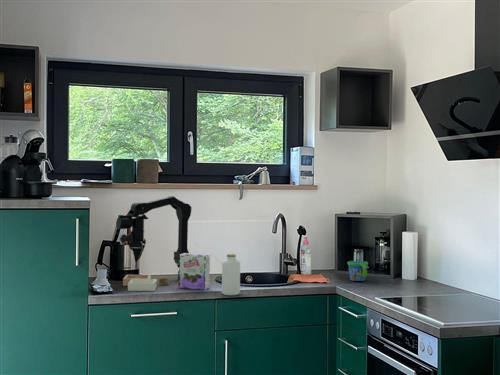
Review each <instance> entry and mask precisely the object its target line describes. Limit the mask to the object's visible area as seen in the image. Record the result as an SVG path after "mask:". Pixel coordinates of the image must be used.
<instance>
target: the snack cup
mask: <svg viewBox="0 0 500 375" xmlns="http://www.w3.org/2000/svg"><path fill="white" fill-rule="evenodd" d="M347 265H348V273H349V279H350V281H351V280H355V281H363V282H365V281H366V277H367V276H368V265H369V262H368V261H365V260H364V261H362V260H349V261H347ZM364 280H365V281H364Z"/></svg>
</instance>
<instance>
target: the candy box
mask: <svg viewBox="0 0 500 375" xmlns="http://www.w3.org/2000/svg"><path fill="white" fill-rule="evenodd" d="M210 261H211V254H205V253H204V254H202V253H190V252H189V253H182V254H180V258H179V268H178V271H179V280H178V288H179V289H185V290H186V289H188V290H196V291H197V290H199V291H207V290H209V289H210V275H211V274H210V269H211V268H210V264H211V263H210Z"/></svg>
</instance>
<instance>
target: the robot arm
mask: <svg viewBox="0 0 500 375" xmlns="http://www.w3.org/2000/svg"><path fill="white" fill-rule="evenodd" d="M169 205H170V207H171V208H173V209H174V210H175V213H176V214H175V215H176V217H177V220H178V229H177V232H178V233H177V234H178V236H177V237H178V238H177V250H176V251H173V261H174V263H175V264H176V266H177V268H178V269H179V258H180V254H182V253H190V252H189V249H188V238H189V237H188V236H189V235H188V233H189V231H188V230H189V220H190V217H191V214H192V210H193V209H192V206H191V205H190V204H189V203H185V201H184V202H183V200H180V199H179V198H177V197H175V196H174V195H173V196H172V195H171V196H170V195H169V196H167V197H162V198H159V199H155V200H151V201H147V202H146V201H145V202H134V203H132V204H131V206H130V209H129V210H128V212H127V214H124V215H123V214H118V215H117V216H118V217H117V219H116V221H115V224H116V228H117V230H130V229H131V231H130V233H128V234H126V233H124V234H121V236H120V237H119V241H120V243H121V244H125V243H127V242H129V243H128V248H129V249H130V250H131V252H133V253H132V254H133V258H134V262H138V261H139V260H140V259H141V257H142V254H143V252H144V249H145V247H146V244H147V240H146V239H145V220H149V217H148V216H147V215H146V214H147V213H148V212H150V211H152V210H155V209H158V208H163V207H167V206H169ZM177 280H178V281H179V270H178V272H177Z"/></svg>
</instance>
